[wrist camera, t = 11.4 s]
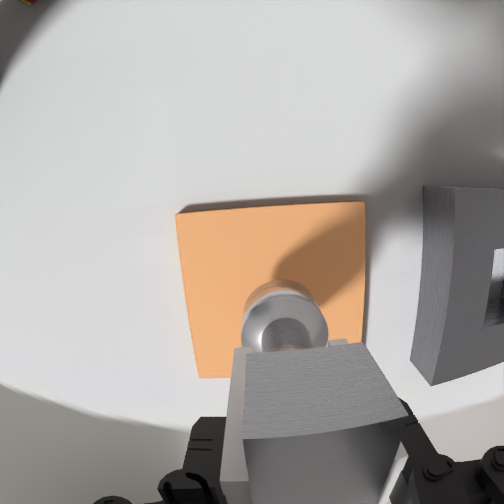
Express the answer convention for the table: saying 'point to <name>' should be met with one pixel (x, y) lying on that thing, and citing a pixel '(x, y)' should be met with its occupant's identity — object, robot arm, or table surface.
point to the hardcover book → (28, 2)
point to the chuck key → (312, 406)
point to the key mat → (269, 269)
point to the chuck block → (459, 283)
